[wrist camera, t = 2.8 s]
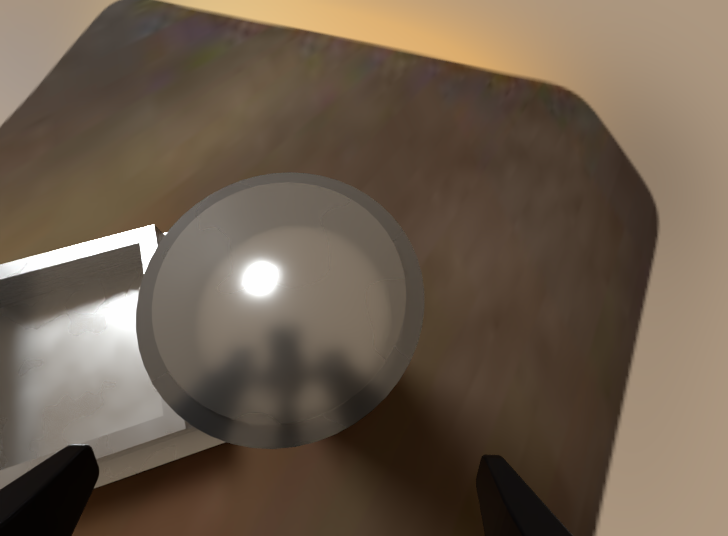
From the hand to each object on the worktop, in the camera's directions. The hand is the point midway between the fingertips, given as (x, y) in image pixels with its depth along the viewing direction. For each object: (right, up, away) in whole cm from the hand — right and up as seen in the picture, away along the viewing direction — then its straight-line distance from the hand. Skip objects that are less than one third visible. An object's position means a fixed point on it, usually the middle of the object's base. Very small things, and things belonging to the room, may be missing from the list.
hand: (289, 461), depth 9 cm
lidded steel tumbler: (0, -1, +11) cm, 11 cm away
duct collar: (-12, 0, +11) cm, 16 cm away
